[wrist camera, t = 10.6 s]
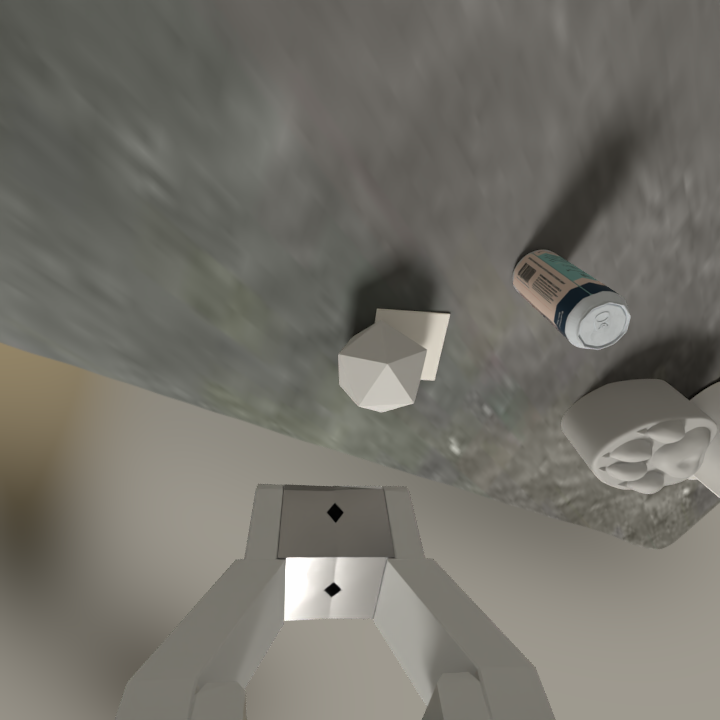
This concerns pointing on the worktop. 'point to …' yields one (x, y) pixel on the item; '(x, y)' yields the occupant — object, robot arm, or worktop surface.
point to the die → (381, 368)
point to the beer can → (572, 300)
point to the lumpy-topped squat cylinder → (639, 434)
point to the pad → (420, 333)
